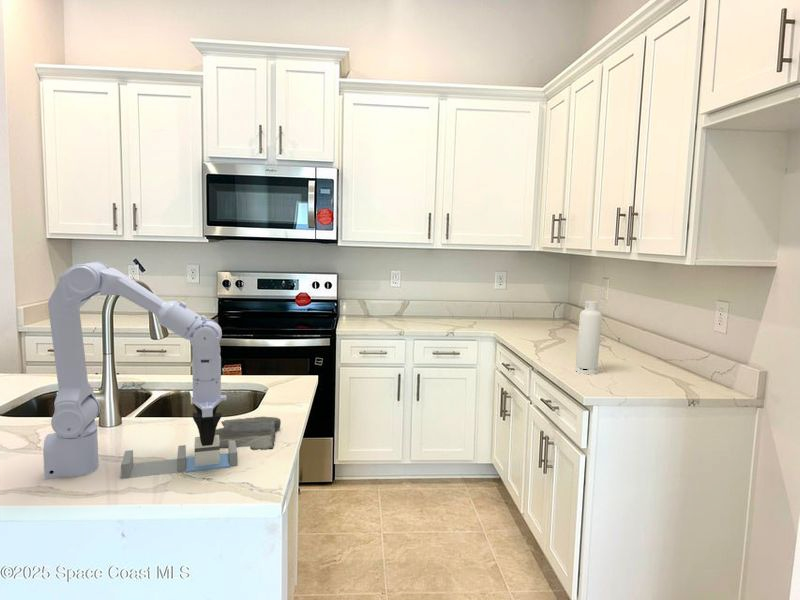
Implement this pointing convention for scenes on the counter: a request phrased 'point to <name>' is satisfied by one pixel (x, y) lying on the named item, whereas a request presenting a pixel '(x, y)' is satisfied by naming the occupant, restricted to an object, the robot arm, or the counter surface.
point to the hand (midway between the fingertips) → (207, 438)
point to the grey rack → (174, 463)
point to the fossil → (249, 432)
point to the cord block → (207, 452)
